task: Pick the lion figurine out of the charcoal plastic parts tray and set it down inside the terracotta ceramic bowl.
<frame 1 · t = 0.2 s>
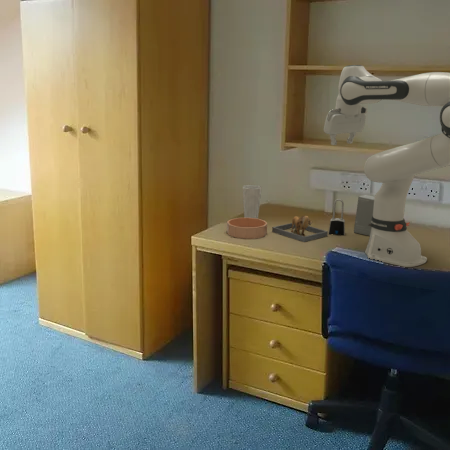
hand: (341, 144, 226), 39 cm above the table, tool pointing down, fingers open, 8 cm apart
cup: (251, 220, 263), on the table
skincare box: (366, 233, 246), on the table
padlock: (336, 234, 244), on the table
bowl: (246, 232, 243), on the table
lion figurine: (299, 234, 243), resting in parts tray
parts tray: (299, 233, 243), on the table
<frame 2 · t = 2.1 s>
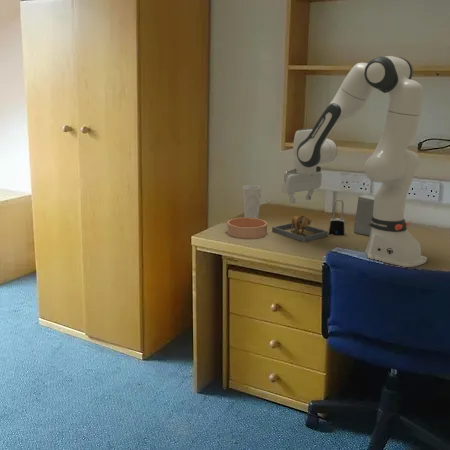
hand: (300, 201, 240), 14 cm above the table, tool pointing down, fingers open, 8 cm apart
nothing on the table moved.
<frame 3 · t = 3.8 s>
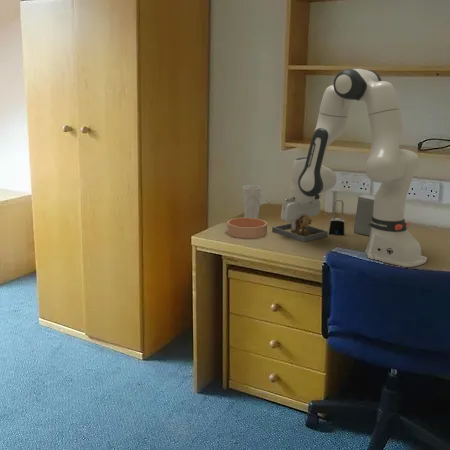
hand: (299, 228, 242), 2 cm above the table, tool pointing down, fingers open, 5 cm apart
lion figurine: (299, 233, 244), resting in parts tray, touching gripper
everything else where it was.
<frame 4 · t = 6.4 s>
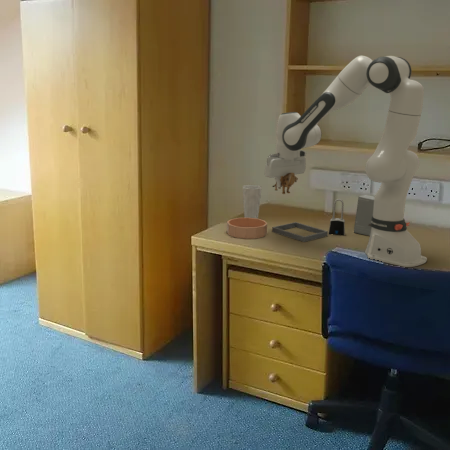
hand: (284, 186, 238), 20 cm above the table, tool pointing down, fingers closed on lion figurine, 4 cm apart
lion figurine: (283, 192, 240), point 17 cm above the table, touching gripper
everything else where it was.
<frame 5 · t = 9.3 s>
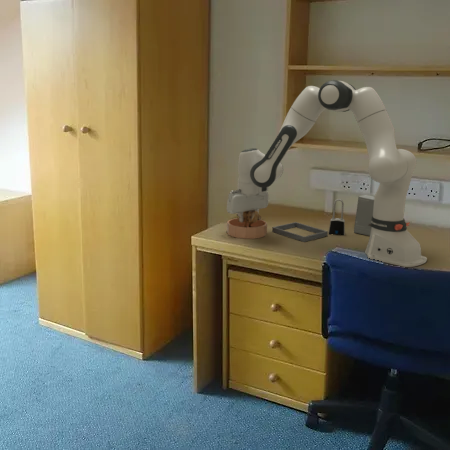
hand: (247, 220, 241), 5 cm above the table, tool pointing down, fingers closed on lion figurine, 4 cm apart
lion figurine: (245, 225, 244), point 3 cm above the table, touching gripper
everything else where it was.
when the fingers open (4 cm above the table, at t = 10.3 s): lion figurine stays where it is, resting on bowl.
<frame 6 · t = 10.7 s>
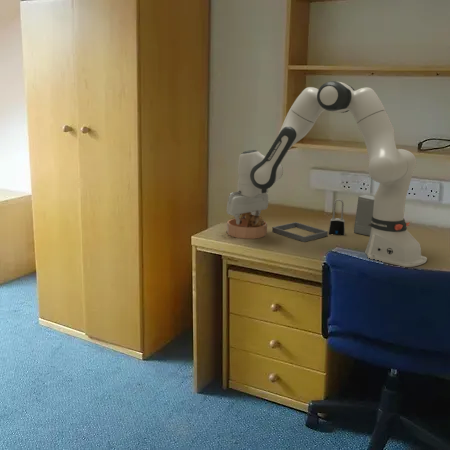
hand: (247, 222, 242), 5 cm above the table, tool pointing down, fingers open, 8 cm apart
lion figurine: (247, 226, 244), point 2 cm above the table, touching bowl
everything else where it was.
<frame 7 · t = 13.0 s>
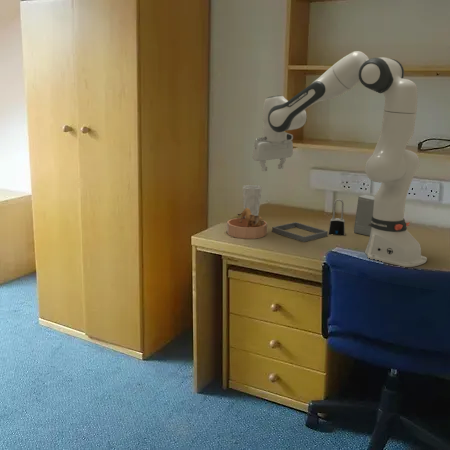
hand: (272, 169, 240), 26 cm above the table, tool pointing down, fingers open, 8 cm apart
nothing on the table moved.
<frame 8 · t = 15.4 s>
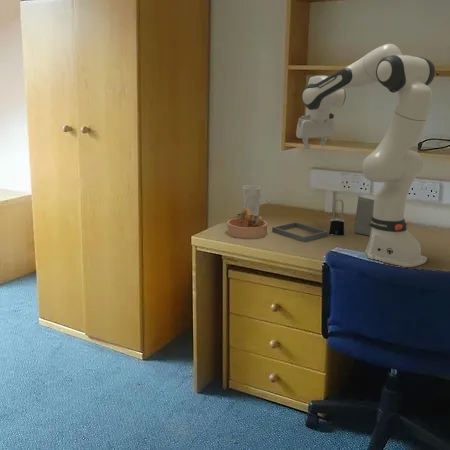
hand: (314, 147, 248), 34 cm above the table, tool pointing down, fingers open, 8 cm apart
nothing on the table moved.
at the end: lion figurine inside the target area on the bowl (2.2 cm from its centre), point 2.0 cm above the bowl's base; the gripper is holding nothing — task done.
